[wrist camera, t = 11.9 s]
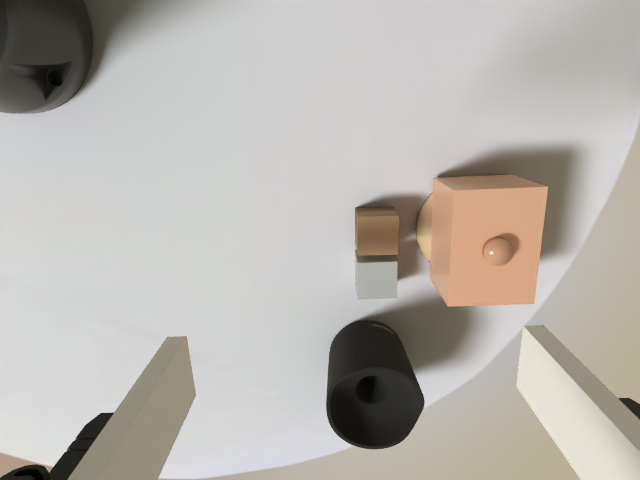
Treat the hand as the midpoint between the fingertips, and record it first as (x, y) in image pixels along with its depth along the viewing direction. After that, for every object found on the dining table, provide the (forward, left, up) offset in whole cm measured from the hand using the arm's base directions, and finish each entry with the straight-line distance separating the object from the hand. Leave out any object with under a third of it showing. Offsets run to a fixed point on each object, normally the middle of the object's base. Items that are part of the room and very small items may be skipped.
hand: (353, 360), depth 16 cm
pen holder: (+18, +3, -29) cm, 34 cm away
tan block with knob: (+3, +14, -28) cm, 32 cm away
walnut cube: (+3, +4, -29) cm, 29 cm away
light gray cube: (+7, +4, -29) cm, 30 cm away
